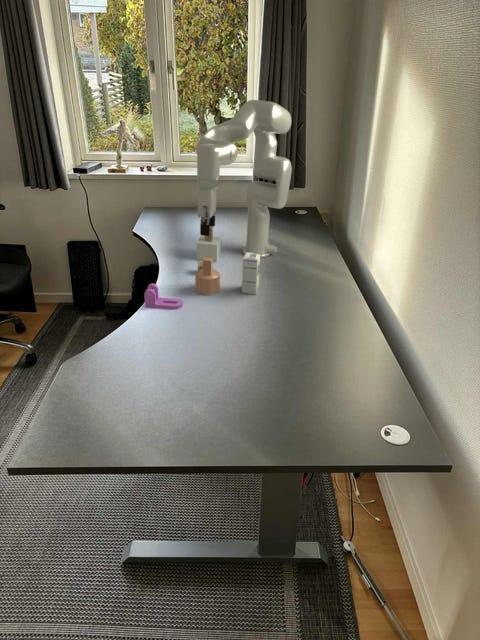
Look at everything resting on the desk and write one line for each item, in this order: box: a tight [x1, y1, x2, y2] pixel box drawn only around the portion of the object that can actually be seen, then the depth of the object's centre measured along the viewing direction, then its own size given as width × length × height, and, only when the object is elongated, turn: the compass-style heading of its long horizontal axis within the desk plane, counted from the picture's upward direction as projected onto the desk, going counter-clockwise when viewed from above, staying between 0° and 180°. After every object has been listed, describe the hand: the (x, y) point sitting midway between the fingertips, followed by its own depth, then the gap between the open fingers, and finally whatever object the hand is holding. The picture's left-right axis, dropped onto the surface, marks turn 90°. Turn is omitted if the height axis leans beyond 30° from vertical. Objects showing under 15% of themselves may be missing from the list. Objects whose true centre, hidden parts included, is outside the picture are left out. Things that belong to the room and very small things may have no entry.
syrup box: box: [241, 252, 261, 295], centre depth 184 cm, size 6×6×14 cm
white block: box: [195, 226, 222, 263], centre depth 209 cm, size 9×9×14 cm
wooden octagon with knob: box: [194, 257, 221, 296], centre depth 183 cm, size 9×9×13 cm
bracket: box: [143, 282, 184, 310], centre depth 173 cm, size 13×6×7 cm, turn 86°
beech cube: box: [197, 261, 203, 271], centre depth 198 cm, size 4×4×4 cm
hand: (207, 230), depth 174 cm, fingers open, 9 cm apart
